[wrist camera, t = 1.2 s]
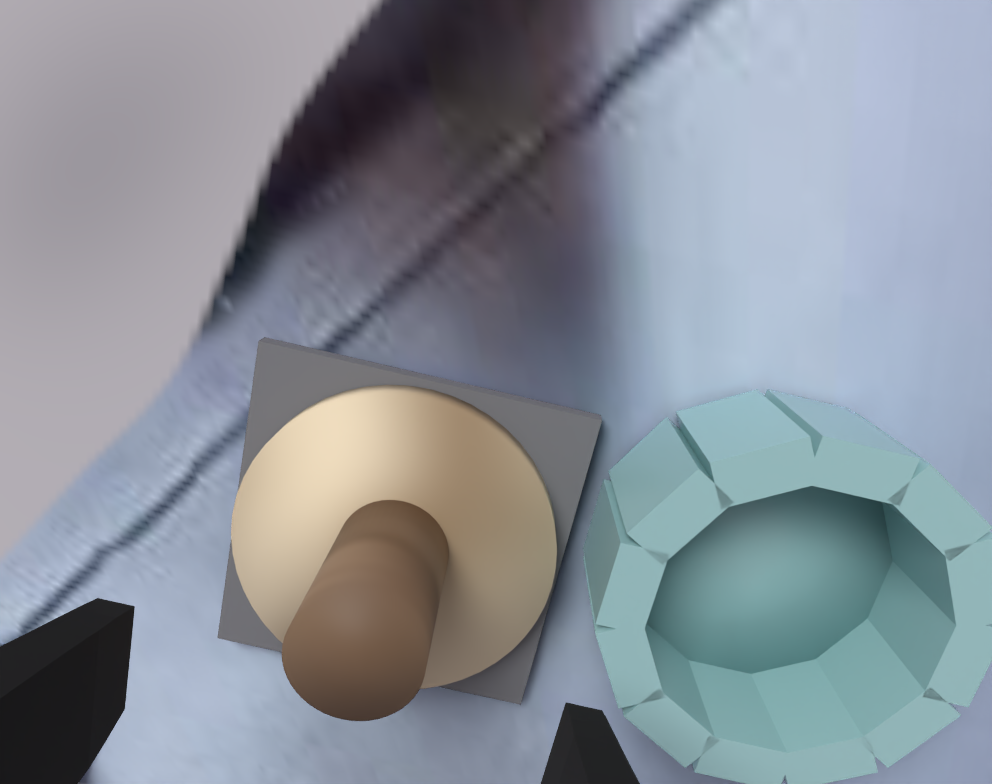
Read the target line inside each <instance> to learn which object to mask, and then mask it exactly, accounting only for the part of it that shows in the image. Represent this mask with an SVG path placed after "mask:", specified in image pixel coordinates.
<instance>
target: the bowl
mask: <svg viewBox="0 0 992 784" xmlns="http://www.w3.org/2000/svg"><path fill="white" fill-rule="evenodd" d="M676 415H677V419H678V423H679V427H680V429H679V428H678V427H677V426H676V425H675V424H674V423H673V422H672V421H671V420H670V419H669V418H668V417H666V418H665V419H664V420H663V421H662V422H660V423H659V424H658V425H657V426H656V427H655V428H654V429H653V430H652V431H651V432H650V433H649V434H648V435H647V436H646V437H644V438H643V439H642V440H641V441H640V442H639V443H638V444H637V445H636V446H635V447H634V448H633V449H632V450H631V451H630V452H628V453H627V454H626V455H625V456H624V457H623V458H622V459H621V460H620V461H619V462H618V463H617V464H616V465H615V466H614V467H612V468H611V469H610V470H609V475H610V478H611V481H609V480H605V479H603V483H602V486H601V489H600V493H599V496H598V499H597V503H596V506H595V510H594V513H593V516H592V520H591V523H590V527H589V530H588V533H587V537H586V540H585V544H584V547H583V551H584V557H583V559H584V565H585V572H586V578H587V584H588V590H589V597H590V603H591V609H592V616H593V622H594V628H595V634H596V637H597V641H598V644H599V647H600V650H601V654H602V657H603V660H604V663H605V667H606V670H607V673H608V676H609V680H610V683H611V686H612V689H613V693H614V696H615V699H616V702H617V706H618V709H619V708H622V709H623V714H624V717H625V718H626V719H627V720H629V721H630V722H631V723H632V724H633V725H634V726H636V727H637V728H638V729H639V730H640V731H642V732H643V733H644V734H645V735H646V736H648V737H649V738H650V739H651V740H652V741H654V742H655V743H656V744H657V745H658V746H660V747H661V748H662V749H663V750H664V751H666V752H667V753H668V754H669V755H670V756H671V757H673V758H674V759H675V760H676V761H677V762H679V763H680V764H681V765H682V766H683V767H685V768H686V767H687V766H688V765H690V764H691V763H692V766H693V769H694V772H695V773H699V774H704V775H708V776H713V777H718V778H722V779H727V780H731V781H736V782H741V783H745V784H782V781H783V779H784V780H785V782H786V784H824V783H829V782H834V781H839V780H844V779H849V778H853V777H858V776H863V775H868V774H873V773H877V772H878V771H877V766H876V761H875V757H876V758H877V759H879V760H880V761H881V762H882V763H883V764H884V765H885V766H886V767H887V768H889V767H890V766H891V765H893V764H894V763H896V762H897V761H898V760H900V759H901V758H903V757H904V756H905V755H907V754H908V753H910V752H911V751H912V750H914V749H915V748H917V747H918V746H919V745H921V744H922V743H924V742H925V741H926V740H928V739H929V738H930V737H932V736H933V735H935V734H936V733H937V732H939V731H940V730H942V729H943V728H944V727H946V726H947V725H949V724H950V723H951V722H953V721H954V720H956V719H957V718H958V717H960V716H961V715H960V713H959V712H958V711H957V710H956V709H955V707H954V706H953V705H952V704H956V705H961V706H965V707H969V705H970V703H971V701H972V699H973V697H974V695H975V693H976V691H977V689H978V687H979V685H980V683H981V681H982V679H983V677H984V675H985V673H986V671H987V669H988V667H989V665H990V663H991V661H992V533H991V532H990V530H991V529H992V526H991V525H990V524H989V523H988V522H987V521H986V520H985V519H984V518H983V517H982V516H981V515H980V514H979V513H978V512H977V511H976V510H975V509H974V508H973V507H972V506H971V505H970V504H969V503H968V502H967V501H966V500H965V499H964V498H963V497H962V496H961V495H960V494H959V493H958V492H957V491H956V490H955V489H954V488H953V487H952V486H951V484H950V483H949V482H948V481H947V480H946V479H945V478H944V477H943V476H942V475H941V474H940V473H939V472H938V471H937V470H936V469H935V468H934V467H933V466H932V465H931V464H930V463H928V462H927V461H925V460H924V459H922V458H921V457H919V456H918V455H916V454H915V453H914V452H912V451H911V450H909V449H908V448H906V447H905V446H903V445H902V444H900V443H899V442H898V441H896V440H895V439H893V438H892V437H890V436H889V435H887V434H886V433H884V432H883V431H882V430H880V429H879V428H877V427H876V426H874V425H873V424H871V423H870V422H868V421H867V420H866V419H864V418H863V417H861V416H860V415H858V414H857V413H854V412H852V411H851V410H849V409H848V408H846V407H841V406H837V405H833V404H828V403H824V402H820V401H816V400H811V399H807V398H803V397H799V396H794V395H790V394H786V393H781V392H777V391H773V390H769V389H767V392H766V395H765V396H764V395H763V394H762V393H760V392H759V391H758V390H753V391H750V392H746V393H742V394H739V395H735V396H731V397H728V398H724V399H720V400H717V401H713V402H709V403H706V404H702V405H698V406H695V407H691V408H687V409H684V410H680V411H676ZM951 703H952V704H951Z"/></svg>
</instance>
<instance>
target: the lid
mask: <svg viewBox="0 0 992 784" xmlns="http://www.w3.org/2000/svg"><path fill="white" fill-rule="evenodd" d="M231 540H232V553H233V557H234V562H235V567H236V571H237V574H238V577H239V580H240V582H241V585H242V588H243V590H244V592H245V594H246V596H247V598H248V600H249V602H250V604H251V606H252V607H253V609H254V610H255V612H256V613H257V615H258V616H259V617H260V619H261V620H262V622H263V623H264V624H265V626H266V627H267V628H268V629H269V630H270V631H271V632H272V633H273V634H274V636H275V637H276V638H277V639H278V640H279V641H281V642H282V643H283V644H282V662H283V667H284V670H285V673H286V676H287V678H288V680H289V682H290V684H291V685H292V687H293V688H294V689H295V691H296V692H297V693H298V694H299V695H300V696H301V698H303V699H304V700H305V701H306V702H307V703H308V704H310V705H311V706H313V707H314V708H316V709H317V710H319V711H321V712H323V713H325V714H328V715H330V716H333V717H336V718H340V719H345V720H351V721H369V720H375V719H380V718H383V717H386V716H389V715H391V714H393V713H395V712H397V711H399V710H400V709H402V708H403V707H404V706H406V705H407V704H408V703H409V702H410V701H411V700H412V699H413V698H414V697H415V695H416V694H417V692H418V691H419V689H425V688H431V687H437V686H442V685H446V684H450V683H453V682H456V681H460V680H463V679H465V678H467V677H470V676H472V675H474V674H477V673H479V672H481V671H483V670H484V669H486V668H488V667H489V666H491V665H493V664H494V663H496V662H498V661H499V660H500V659H501V658H503V657H504V656H505V655H507V654H508V653H509V652H510V651H512V650H513V649H514V648H515V647H516V646H517V645H518V644H519V643H520V642H521V641H522V639H523V638H524V637H525V636H526V635H527V634H528V632H529V631H530V630H531V628H532V627H533V626H534V624H535V623H536V621H537V620H538V618H539V616H540V614H541V612H542V610H543V608H544V607H545V605H546V602H547V599H548V597H549V594H550V591H551V588H552V584H553V580H554V575H555V570H556V558H557V543H556V531H555V520H554V512H553V508H552V504H551V499H550V495H549V493H548V490H547V488H546V485H545V482H544V480H543V477H542V475H541V474H540V472H539V470H538V468H537V466H536V465H535V463H534V461H533V459H532V458H531V457H530V455H529V454H528V453H527V451H526V450H525V449H524V447H523V446H522V445H521V443H520V442H519V441H518V440H517V439H516V438H515V437H514V436H513V435H512V434H511V433H510V432H509V431H508V430H507V429H506V428H505V427H503V426H502V425H501V424H500V423H498V422H497V421H496V420H495V419H493V418H492V417H491V416H490V415H488V414H486V413H485V412H483V411H481V410H480V409H478V408H476V407H475V406H473V405H471V404H469V403H467V402H465V401H462V400H460V399H458V398H456V397H453V396H451V395H448V394H445V393H441V392H438V391H435V390H431V389H426V388H420V387H414V386H407V385H378V386H366V387H361V388H357V389H352V390H348V391H344V392H341V393H338V394H336V395H333V396H330V397H327V398H325V399H323V400H321V401H319V402H317V403H315V404H313V405H311V406H310V407H308V408H306V409H305V410H303V411H302V412H301V413H299V414H298V415H296V416H295V417H294V418H292V419H291V420H290V421H289V422H288V423H287V424H286V425H285V426H284V427H283V428H282V429H280V430H279V431H278V432H277V433H276V434H275V435H274V436H273V437H272V438H271V439H270V440H269V441H268V442H267V443H266V444H265V446H264V447H263V448H262V449H261V451H260V452H259V453H258V455H257V456H256V457H255V458H254V460H253V461H252V463H251V465H250V467H249V468H248V470H247V472H246V474H245V476H244V477H243V480H242V482H241V485H240V488H239V490H238V493H237V496H236V500H235V505H234V509H233V514H232V527H231Z"/></svg>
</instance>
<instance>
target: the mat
mask: <svg viewBox="0 0 992 784" xmlns="http://www.w3.org/2000/svg"><path fill="white" fill-rule="evenodd" d="M378 385H407V386H414V387H420V388H426V389H431V390H435V391H438V392H441V393H445V394H448V395H451V396H453V397H456V398H458V399H460V400H462V401H465V402H467V403H469V404H471V405H473V406H475V407H476V408H478V409H480V410H481V411H483V412H485V413H486V414H488V415H490V416H491V417H492V418H493V419H495V420H496V421H497V422H498V423H500V424H501V425H502V426H503V427H505V428H506V429H507V430H508V431H509V432H510V433H511V434H512V435H513V436H514V437H515V438H516V439H517V440H518V441H519V442H520V443H521V445H522V446H523V447H524V449H525V450H526V451H527V453H528V454H529V455H530V457H531V458H532V459H533V461H534V463H535V465H536V466H537V468H538V470H539V472H540V474H541V475H542V477H543V480H544V482H545V485H546V488H547V490H548V493H549V495H550V499H551V504H552V508H553V512H554V520H555V531H556V543H557V558H556V570H555V575H554V580H553V584H552V588H551V591H550V594H549V597H548V599H547V602H546V605H545V607H544V608H543V610H542V612H541V614H540V616H539V618H538V620H537V621H536V623H535V624H534V626H533V627H532V628H531V630H530V631H529V632H528V634H527V635H526V636H525V637H524V638H523V639H522V641H521V642H520V643H519V644H518V645H517V646H516V647H515V648H514V649H513V650H512V651H510V652H509V653H508V654H507V655H505V656H504V657H503V658H501V659H500V660H499V661H498V662H496V663H494V664H493V665H491V666H489V667H488V668H486V669H484V670H483V671H481V672H479V673H477V674H474V675H472V676H470V677H467V678H465V679H463V680H460V681H456V682H453V683H450V684H446V685H442V686H439V687H443V688H448V689H452V690H457V691H461V692H466V693H470V694H475V695H480V696H484V697H489V698H493V699H498V700H502V701H507V702H511V703H516V704H521V701H522V698H523V694H524V691H525V687H526V684H527V680H528V677H529V673H530V670H531V666H532V663H533V659H534V656H535V652H536V649H537V646H538V642H539V639H540V635H541V632H542V628H543V625H544V621H545V618H546V614H547V611H548V607H549V604H550V600H551V597H552V593H553V590H554V586H555V583H556V579H557V576H558V572H559V569H560V565H561V562H562V558H563V555H564V551H565V548H566V544H567V541H568V537H569V534H570V530H571V527H572V524H573V520H574V517H575V513H576V510H577V506H578V503H579V499H580V496H581V492H582V489H583V485H584V482H585V478H586V475H587V471H588V468H589V464H590V461H591V457H592V454H593V450H594V447H595V443H596V440H597V436H598V433H599V429H600V426H601V422H602V418H601V415H598V414H594V413H590V412H585V411H581V410H577V409H572V408H568V407H564V406H560V405H555V404H551V403H547V402H542V401H538V400H534V399H529V398H525V397H521V396H516V395H512V394H508V393H503V392H499V391H495V390H490V389H486V388H482V387H477V386H473V385H469V384H464V383H460V382H456V381H451V380H447V379H443V378H438V377H434V376H430V375H426V374H421V373H417V372H413V371H408V370H404V369H400V368H395V367H391V366H387V365H382V364H378V363H374V362H369V361H365V360H361V359H356V358H352V357H348V356H343V355H339V354H335V353H330V352H326V351H322V350H317V349H313V348H309V347H304V346H300V345H296V344H292V343H287V342H283V341H279V340H274V339H270V338H266V337H264V338H263V339H261V340H259V342H258V349H257V357H256V364H255V371H254V378H253V386H252V393H251V400H250V407H249V414H248V422H247V429H246V436H245V443H244V451H243V458H242V465H241V472H240V479H239V487H238V490H239V488H240V485H241V482H242V480H243V477H244V476H245V474H246V472H247V470H248V468H249V467H250V465H251V463H252V461H253V460H254V458H255V457H256V456H257V455H258V453H259V452H260V451H261V449H262V448H263V447H264V446H265V444H266V443H267V442H268V441H269V440H270V439H271V438H272V437H273V436H274V435H275V434H276V433H277V432H278V431H279V430H280V429H282V428H283V427H284V426H285V425H286V424H287V423H288V422H289V421H290V420H291V419H292V418H294V417H295V416H296V415H298V414H299V413H301V412H302V411H303V410H305V409H306V408H308V407H310V406H311V405H313V404H315V403H317V402H319V401H321V400H323V399H325V398H327V397H330V396H333V395H336V394H338V393H341V392H344V391H348V390H352V389H357V388H361V387H366V386H378ZM218 638H220V639H224V640H229V641H233V642H238V643H243V644H247V645H252V646H256V647H261V648H265V649H270V650H274V651H279V652H282V644H283V643H282V642H281V641H279V640H278V639H277V638H276V637H275V636H274V634H273V633H272V632H271V631H270V630H269V629H268V628H267V627H266V626H265V624H264V623H263V622H262V620H261V619H260V617H259V616H258V615H257V613H256V612H255V610H254V609H253V607H252V606H251V604H250V602H249V600H248V598H247V596H246V594H245V592H244V590H243V588H242V585H241V582H240V580H239V577H238V574H237V571H236V567H235V562H234V557H233V553H232V540H231V544H230V552H229V559H228V566H227V573H226V581H225V588H224V595H223V602H222V609H221V617H220V624H219V631H218Z"/></svg>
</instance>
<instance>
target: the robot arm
mask: <svg viewBox="0 0 992 784" xmlns="http://www.w3.org/2000/svg"><path fill="white" fill-rule="evenodd" d="M134 608H135V606H130V605H126V604H121V603H117V602H112V601H108V600H103V599H99V598H97V599H95V600H93V601H91V602H89V603H86V604H84V605H82V606H80V607H78V608H76V609H74V610H72V611H70V612H68V613H66V614H64V615H62V616H60V617H58V618H56V619H54V620H52V621H50V622H48V623H46V624H44V625H42V626H40V627H38V628H37V629H35V630H33V631H31V632H29V633H27V634H25V635H23V636H21V637H19V638H17V639H15V640H13V641H11V642H9V643H7V644H4V645H2V646H0V784H77V783H78V782H79V781H80V780H81V778H82V777H83V776H84V774H85V773H86V772H87V770H88V769H89V767H90V766H91V764H92V762H93V761H94V759H95V758H96V756H97V754H98V753H99V751H100V750H101V748H102V746H103V745H104V743H105V742H106V740H107V738H108V736H109V735H110V733H111V731H112V730H113V728H114V726H115V725H116V723H117V721H118V720H119V718H120V716H121V714H122V713H123V711H124V709H125V701H126V690H127V680H128V670H129V659H130V649H131V639H132V628H133V618H134ZM541 784H640V783H639V782H638V780H637V778H636V776H635V774H634V772H633V770H632V768H631V766H630V764H629V762H628V760H627V758H626V756H625V754H624V752H623V750H622V748H621V746H620V744H619V742H618V740H617V738H616V736H615V734H614V732H613V730H612V728H611V726H610V724H609V722H608V720H607V718H606V716H605V715H604V713H603V711H602V710H597V709H593V708H588V707H584V706H579V705H575V704H570V703H566V704H565V707H564V710H563V714H562V717H561V720H560V723H559V727H558V730H557V733H556V736H555V740H554V743H553V746H552V749H551V752H550V756H549V759H548V762H547V765H546V769H545V772H544V775H543V778H542V782H541Z"/></svg>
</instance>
